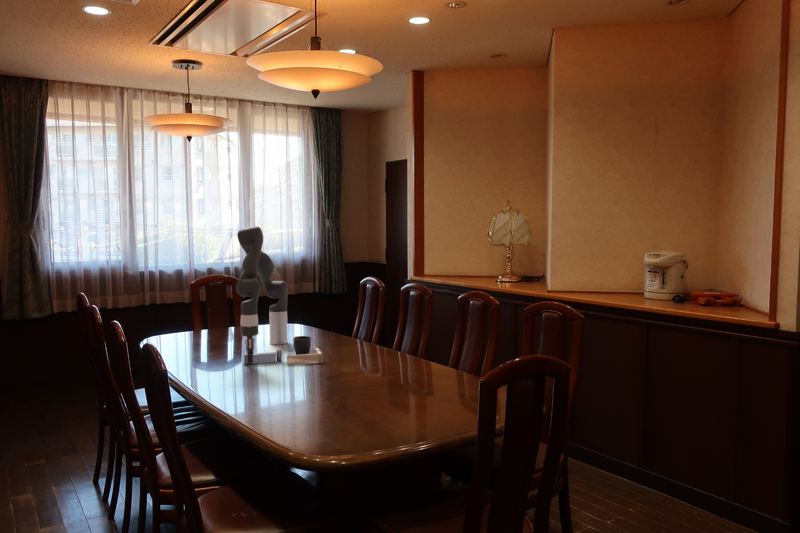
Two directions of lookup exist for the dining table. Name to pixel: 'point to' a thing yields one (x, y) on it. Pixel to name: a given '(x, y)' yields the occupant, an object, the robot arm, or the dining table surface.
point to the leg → (261, 357)
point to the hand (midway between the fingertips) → (250, 363)
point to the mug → (302, 344)
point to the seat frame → (305, 358)
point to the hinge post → (279, 355)
